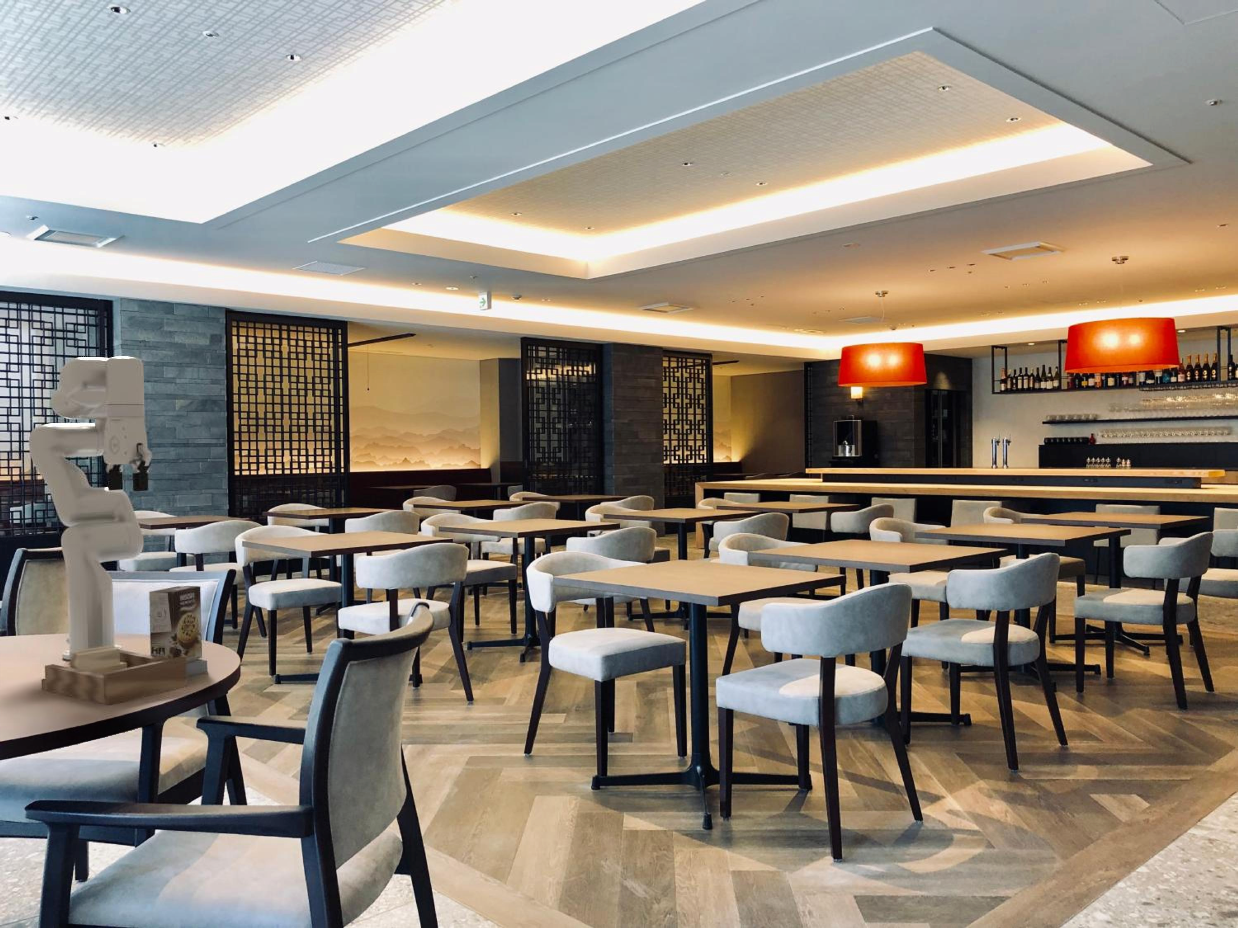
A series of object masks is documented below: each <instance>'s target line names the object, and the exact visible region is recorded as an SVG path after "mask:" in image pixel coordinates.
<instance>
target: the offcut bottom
mask: <svg viewBox="0 0 1238 928" xmlns="http://www.w3.org/2000/svg"><path fill="white" fill-rule="evenodd" d="M125 668H127V663H125V662H120V665H116V666H111V667H105V668H99V669H94V670H88V671H87V672H92V673H97V674H102V675H103V673H107V672H111V671H116V670H121V669H125Z"/></svg>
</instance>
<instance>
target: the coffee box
mask: <svg viewBox="0 0 1238 928" xmlns="http://www.w3.org/2000/svg"><path fill="white" fill-rule="evenodd" d="M148 594H149V595H148V596H149V598H148V599H149V615H150V616H149V636H150V637H149V638H150V639H149V644H150V655H151V656H156V657H162V658H167V659H172V658H176V657H181V656H182V657H186V663H187V662H191V661H194V660H197V659H202V658H203V636H202V633H203V632H202V630H203V629H202V600H201V598H202V597H201V596H202V595H201V594H202V593H201V585H185V586H183V585H181V586H179V585H178V586H171V587H168V588H162V589H157V590H152V591H149V593H148Z"/></svg>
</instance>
